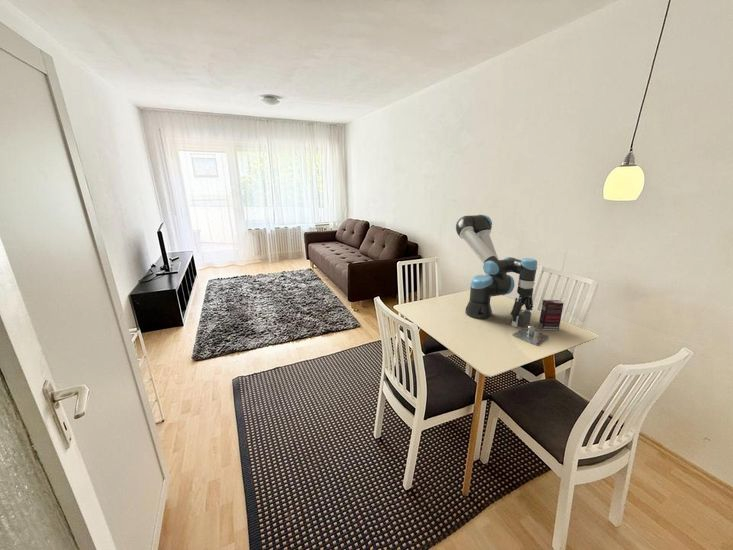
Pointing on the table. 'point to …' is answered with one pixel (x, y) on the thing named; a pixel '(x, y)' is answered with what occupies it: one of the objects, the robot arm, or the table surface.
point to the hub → (530, 335)
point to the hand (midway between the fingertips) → (520, 323)
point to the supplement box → (550, 314)
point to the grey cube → (523, 318)
